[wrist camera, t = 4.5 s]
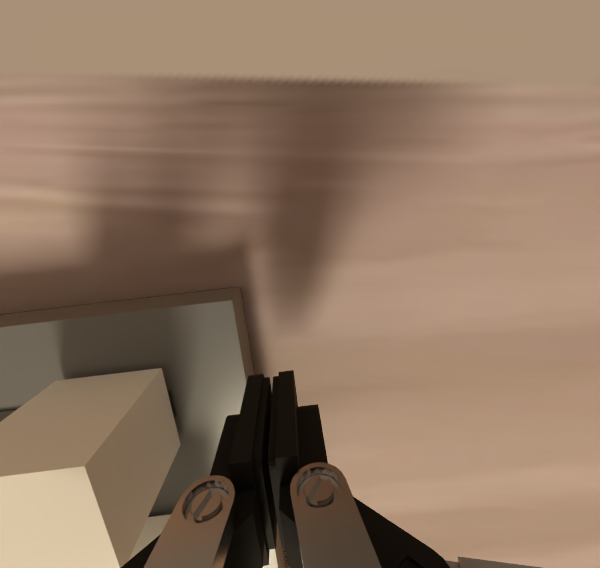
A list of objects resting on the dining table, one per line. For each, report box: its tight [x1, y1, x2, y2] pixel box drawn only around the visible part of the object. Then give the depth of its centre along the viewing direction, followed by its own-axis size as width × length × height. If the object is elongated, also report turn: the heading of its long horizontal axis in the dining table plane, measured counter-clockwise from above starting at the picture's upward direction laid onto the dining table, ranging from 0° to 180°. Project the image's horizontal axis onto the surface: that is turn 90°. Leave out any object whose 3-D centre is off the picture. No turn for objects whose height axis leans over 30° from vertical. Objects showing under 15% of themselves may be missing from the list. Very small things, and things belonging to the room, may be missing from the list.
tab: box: [0, 368, 181, 568], centre depth 10 cm, size 4×4×4 cm
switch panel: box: [0, 287, 286, 568], centre depth 15 cm, size 16×22×2 cm
